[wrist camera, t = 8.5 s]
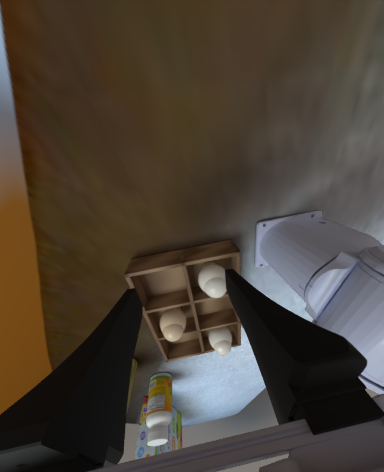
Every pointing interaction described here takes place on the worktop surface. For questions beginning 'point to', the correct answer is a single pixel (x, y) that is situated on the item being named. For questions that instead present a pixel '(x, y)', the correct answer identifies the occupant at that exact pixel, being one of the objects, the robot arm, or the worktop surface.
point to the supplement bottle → (159, 408)
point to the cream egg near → (212, 279)
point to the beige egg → (173, 323)
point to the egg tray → (185, 296)
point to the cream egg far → (220, 340)
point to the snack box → (173, 435)
